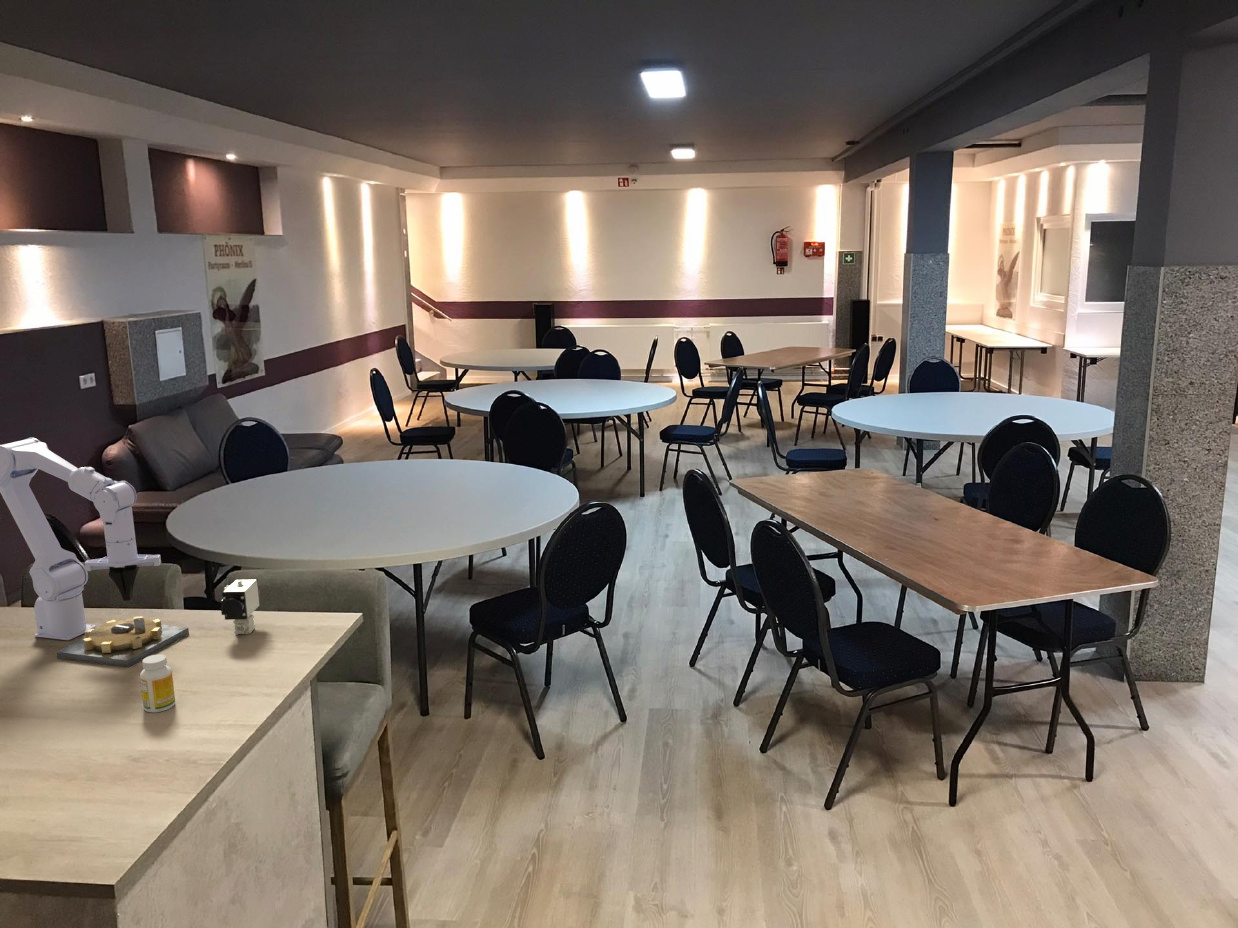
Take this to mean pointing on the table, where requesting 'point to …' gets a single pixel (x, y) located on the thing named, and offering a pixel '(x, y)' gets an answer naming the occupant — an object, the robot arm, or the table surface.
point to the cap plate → (125, 655)
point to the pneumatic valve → (241, 604)
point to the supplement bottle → (157, 684)
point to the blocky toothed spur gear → (122, 634)
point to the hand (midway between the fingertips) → (127, 599)
